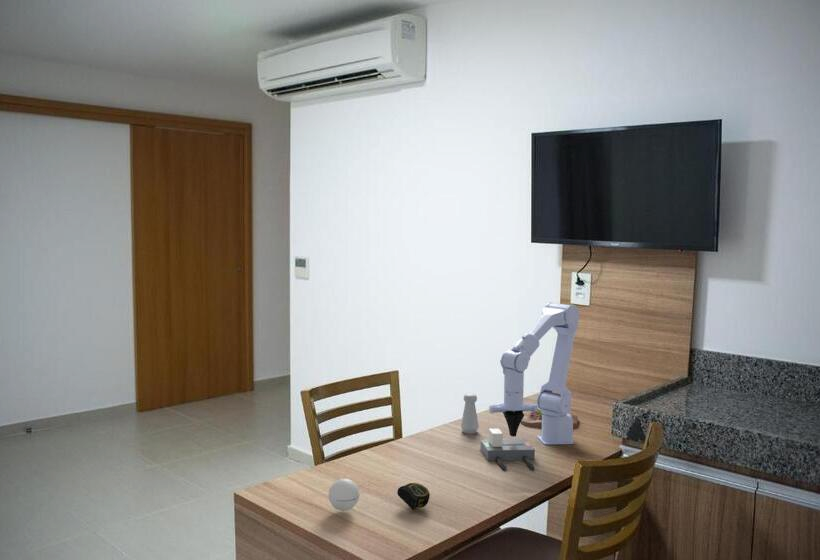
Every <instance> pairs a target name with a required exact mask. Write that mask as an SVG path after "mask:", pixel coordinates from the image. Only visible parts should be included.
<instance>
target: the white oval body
mask: <svg viewBox="0 0 820 560" xmlns="http://www.w3.org/2000/svg"><path fill="white" fill-rule="evenodd" d="M367 492H368V493H369V492H371V491H370V490H369V491H368V490H367ZM364 493H365V491H363V492H361V494H364ZM359 497H360V490H359V487H358V485H357V484H356V483H355V482H354V480H352V479H349V478H340V479H337V480H336V481H334V482H333V483H332V484H331V485H330V488H329V490H328V500H329V503H330V504H331V506H332V507H333V508H334V509H336V510H337V511H340V512H344V511H345V512H346V511H349V510H351V509H353V508H355V506H356V505H357V503H358V502H359V500H360V498H359Z"/></svg>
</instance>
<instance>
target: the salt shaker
mask: <svg viewBox="0 0 820 560" xmlns="http://www.w3.org/2000/svg"><path fill="white" fill-rule="evenodd" d="M477 401H478V396H477V395H476V394H475V393H466V394H465V395H464V396H463V402H464V403H465V404H464V407H463V412H462V419H461V423H460V427H461V430H462V432H463V433H464V434H467V435H474V434H476V433H477V432H478V429H479V426H480V424H479V421H478V419H479V418H478V414H477V410H476V409H477V407H476V402H477Z"/></svg>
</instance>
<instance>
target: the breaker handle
mask: <svg viewBox="0 0 820 560" xmlns="http://www.w3.org/2000/svg"><path fill="white" fill-rule="evenodd" d="M503 436H504V435H503V432H502V431H501V430H500V428H488V440H489V443H490V444H491V446H492V447H503V440H504V437H503Z"/></svg>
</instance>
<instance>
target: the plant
mask: <svg viewBox="0 0 820 560" xmlns="http://www.w3.org/2000/svg"><path fill="white" fill-rule="evenodd" d="M552 393H554V391H552ZM568 414H571V416H572V419H573V429H576V428H578V421H579V418H578V416H577V415H574V414H572V413H570V412H568ZM520 425H522V426H524V427H527V428H528V427H529V428H535V429H541V430H542V413H541V412H540V409H539V408H537V412H534V411H525V413H524V417H523V419H522V421H521V422H520Z"/></svg>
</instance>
